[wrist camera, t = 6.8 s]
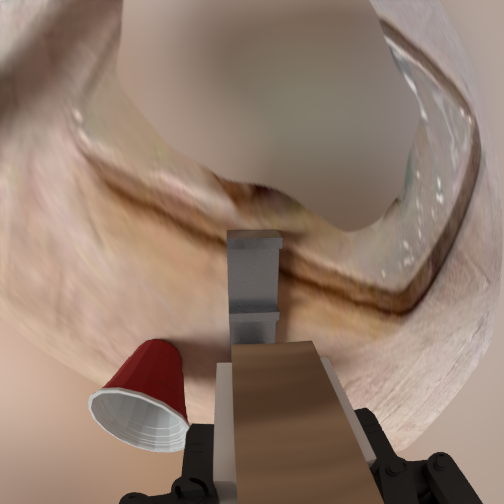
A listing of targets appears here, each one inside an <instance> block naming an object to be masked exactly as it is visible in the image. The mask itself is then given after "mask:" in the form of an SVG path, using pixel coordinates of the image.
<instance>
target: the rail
mask: <svg viewBox="0 0 504 504" xmlns="http://www.w3.org/2000/svg"><path fill="white" fill-rule="evenodd" d="M282 246H283V238H282V236H281V235H280V234H279V233H278V231H277V230H227V262H228V296H229V323H230V347H231V363H232V345H238V344H269V343H275V336H276V321H279V315H280V312H279V309H278V306H277V295H278V270H279V249H282Z"/></svg>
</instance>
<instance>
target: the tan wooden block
mask: <svg viewBox="0 0 504 504" xmlns="http://www.w3.org/2000/svg"><path fill="white" fill-rule="evenodd" d="M232 388H233V419H234V444H235V466H236V485H237V502H238V504H384V502H383V499H382V497H381V495H380V492H379V490H378V488H377V485H376V483H375V481H374V478H373V476H372V474H371V471H370V469H369V467H368V464H367V462H366V460H365V457H364V455H363V453H362V450H361V448H360V446H359V444H358V441H357V439H356V437H355V435H354V432H353V430H352V428H351V426H350V423H349V421H348V419H347V417H346V414H345V412H344V410H343V408H342V405H341V403H340V401H339V399H338V397H337V394H336V392H335V390H334V388H333V386H332V383H331V381H330V379H329V377H328V375H327V372H326V370H325V368H324V366H323V364H322V362H321V359H320V357H319V355H318V353H317V351H316V349H315V346H314V344H313V342H312V341H302V342H287V343H269V344H238V345H232Z"/></svg>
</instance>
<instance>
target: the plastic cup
mask: <svg viewBox="0 0 504 504" xmlns="http://www.w3.org/2000/svg"><path fill="white" fill-rule="evenodd" d="M88 408H89V410H90V412H91V414H92V417H93V418H94V420H95V421H96V422H97V423H98V424H99V425H100V426H101V427H102V428H103V429H104V430H105V431H107V432H108V433H110V434H111V435H113V436H114V437H116V438H117V439H119V440H120V441H123V442H125V443H127V444H130V445H132V446H134V447H137V448H140V449H144V450H149V451H153V452H175V451H179V450H183V449H184V447H185V439H186V432H187V431H188V429H189V428H190V425H189V423H188V420H187V414H186V406H185V396H184V376H183V372H182V359H181V355H180V353H179V351H178V350H177V349H176V348H175V347H174V346H173V345H172V344H170V343H168V342H166V341H164V340H158V339H152V340H147V341H146V342H144V343H143V344H142V345H140V346H139V347H138V348H137V349H136V351H135V352H134V353H133V354H132V355H131V356H130V357H129V358H128V359H127V360H126V362H125V363H124V364H123V365H122V367H121V368H120V369H119V370H118V372H117V373H116V374H115V375H114V376H113V378H112V379H111V380H110V381H109V382H108V383H107V384H106V385H105V386H104V387H102V389H100V390H98V391H97V392H95V393H93V394H92V395H91V396H90V397H89V403H88Z"/></svg>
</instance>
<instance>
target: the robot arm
mask: <svg viewBox="0 0 504 504" xmlns="http://www.w3.org/2000/svg"><path fill="white" fill-rule="evenodd" d="M320 359H321V362H322V364H323V366H324V368H325V370H326V372H327V375H328V377H329V379H330V381H331V383H332V386H333V388H334V390H335V392H336V394H337V397H338V399H339V401H340V403H341V405H342V408H343V410H344V412H345V414H346V417H347V419H348V421H349V423H350V426H351V428H352V430H353V432H354V435H355V437H356V439H357V441H358V444H359V446H360V448H361V450H362V453H363V455H364V457H365V460H366V462H367V464H368V467H369V469H370V471H371V474H372V476H373V478H374V481H375V483H376V485H377V488H378V490H379V492H380V495H381V497H382V499H383V502H384V504H483V503H482V502H481V500H480V499H479V497H478V495H477V494H476V492H475V491H474V489H473V488H472V486H471V485H470V483H469V482H468V480H467V479H466V478H465V476H464V475H463V473H462V472H461V470H460V469H459V468H458V466H457V464H456V463H455V462H454V460H453V459H452V457H450V455H448V454H446V453H444V452H437V453H434V454H433V455H432V456H430V457H429V458H428V460H422V461H406V460H405V459H403V458H400V457H398V456H397V455H396V454H395V452H394V450H393V448H392V446H391V445H390V443H389V441H388V439H387V437H386V435H385V433H384V431H382V428H381V426H380V424H379V422H378V420H377V418H376V417H375V415H374V414H373V413H372V412H371V411H370V410H369V409H367V408H362V409H357V410H353V408H352V406H351V404H350V402H349V399H348V397H347V395H346V393H345V391H344V389H343V387H342V385H341V383H340V381H339V379H338V377H337V375H336V373H335V371H334V369H333V367H332V365H331V363H330V361H329V359H328V357H320ZM119 504H238V502H237V485H236V466H235V444H234V419H233V388H232V363H217V370H216V392H215V419H214V424H192V425H191V426H190V428H189V429H188V431H187V432H186V439H185V447H184V457H183V466H182V476H181V477H179V478H178V479H176V480H175V481H174V483H173V484H172V487H171V493H169V494H164V495H157V496H147V495H145V494H142V493H136V492H132V493H128V494H126V495H125V496H123V497H122V498H121V500H120V502H119Z"/></svg>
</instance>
